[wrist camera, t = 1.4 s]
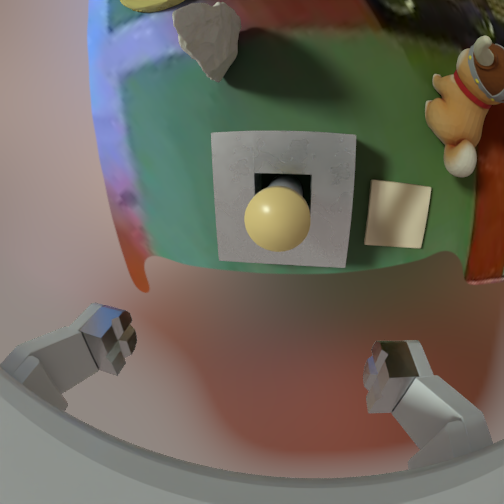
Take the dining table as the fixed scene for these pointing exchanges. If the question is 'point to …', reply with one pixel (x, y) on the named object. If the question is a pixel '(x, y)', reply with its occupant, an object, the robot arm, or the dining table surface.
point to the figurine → (150, 4)
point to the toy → (466, 103)
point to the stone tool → (209, 36)
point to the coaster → (396, 214)
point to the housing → (285, 162)
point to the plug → (278, 215)
